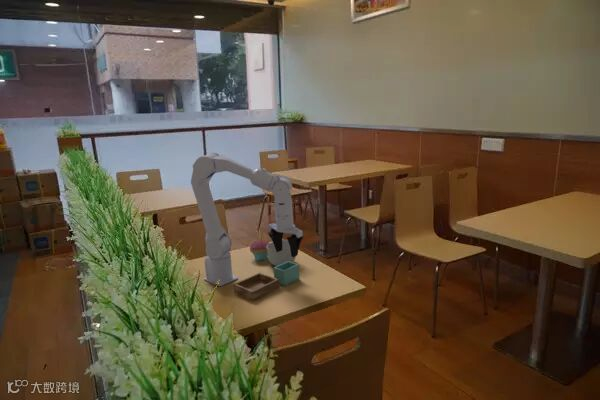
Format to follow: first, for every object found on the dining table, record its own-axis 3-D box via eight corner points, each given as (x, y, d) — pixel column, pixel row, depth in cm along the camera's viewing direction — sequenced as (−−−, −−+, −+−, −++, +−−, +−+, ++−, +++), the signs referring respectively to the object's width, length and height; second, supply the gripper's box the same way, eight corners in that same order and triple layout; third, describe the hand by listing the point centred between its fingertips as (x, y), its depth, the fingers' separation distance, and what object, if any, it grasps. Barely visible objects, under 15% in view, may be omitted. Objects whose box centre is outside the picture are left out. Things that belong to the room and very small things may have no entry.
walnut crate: (234, 292, 132) (233, 284, 131) (260, 280, 140) (259, 272, 139) (253, 301, 126) (252, 292, 125) (279, 287, 134) (278, 279, 133)
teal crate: (274, 282, 138) (273, 267, 136) (288, 275, 143) (288, 261, 141) (285, 286, 134) (284, 271, 133) (299, 279, 139) (298, 264, 138)
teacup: (292, 270, 147) (291, 249, 145) (264, 269, 150) (262, 248, 148) (300, 256, 161) (299, 236, 159) (274, 255, 163) (272, 236, 161)
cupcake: (250, 255, 164) (248, 227, 161) (271, 253, 165) (269, 225, 162) (250, 263, 156) (248, 233, 153) (272, 261, 157) (270, 231, 154)
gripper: (308, 215, 131) (310, 254, 134) (278, 208, 141) (281, 245, 144) (292, 220, 126) (295, 261, 129) (262, 213, 136) (265, 251, 139)
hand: (286, 253), depth 136 cm, fingers open, 7 cm apart
